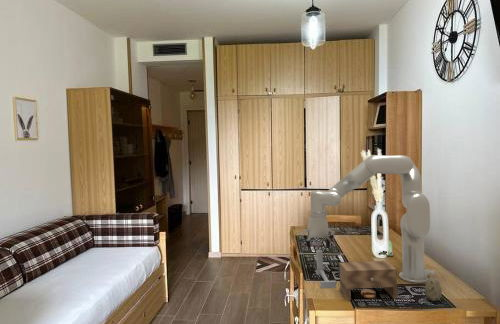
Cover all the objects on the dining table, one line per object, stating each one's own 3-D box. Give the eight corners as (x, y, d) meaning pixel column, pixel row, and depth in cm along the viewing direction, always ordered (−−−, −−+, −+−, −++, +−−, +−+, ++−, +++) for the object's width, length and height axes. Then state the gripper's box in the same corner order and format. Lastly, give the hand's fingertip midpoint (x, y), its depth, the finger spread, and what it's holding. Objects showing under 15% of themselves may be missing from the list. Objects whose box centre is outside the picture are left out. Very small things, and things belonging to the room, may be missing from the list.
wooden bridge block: (386, 288, 143) (386, 260, 142) (398, 299, 132) (397, 269, 131) (340, 290, 142) (339, 262, 142) (347, 301, 132) (347, 271, 131)
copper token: (372, 292, 140) (372, 288, 140) (378, 298, 134) (378, 294, 134) (359, 292, 140) (358, 289, 140) (364, 299, 134) (364, 295, 134)
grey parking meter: (325, 271, 164) (325, 248, 164) (336, 287, 145) (335, 261, 145) (312, 272, 164) (311, 249, 164) (321, 288, 145) (320, 262, 145)
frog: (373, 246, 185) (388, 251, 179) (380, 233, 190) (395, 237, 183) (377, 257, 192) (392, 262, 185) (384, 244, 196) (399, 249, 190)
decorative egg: (435, 296, 133) (435, 273, 132) (445, 303, 127) (444, 279, 127) (422, 297, 133) (421, 274, 132) (430, 304, 127) (430, 279, 126)
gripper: (332, 213, 165) (333, 245, 166) (299, 213, 165) (300, 245, 166) (337, 216, 158) (337, 249, 158) (302, 216, 158) (302, 250, 158)
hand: (318, 247), depth 162 cm, fingers open, 9 cm apart
